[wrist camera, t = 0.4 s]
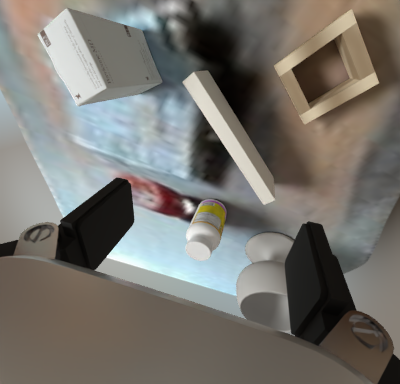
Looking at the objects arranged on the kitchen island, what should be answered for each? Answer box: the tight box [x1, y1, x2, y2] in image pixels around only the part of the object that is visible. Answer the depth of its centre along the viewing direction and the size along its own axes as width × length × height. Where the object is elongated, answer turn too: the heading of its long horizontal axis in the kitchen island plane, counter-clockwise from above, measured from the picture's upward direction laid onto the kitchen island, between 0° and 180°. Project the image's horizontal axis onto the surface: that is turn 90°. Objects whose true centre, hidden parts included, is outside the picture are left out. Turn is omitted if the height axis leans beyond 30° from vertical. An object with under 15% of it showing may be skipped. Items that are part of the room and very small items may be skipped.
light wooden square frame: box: [274, 9, 379, 125], centre depth 28 cm, size 9×9×4 cm
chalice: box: [236, 232, 294, 332], centre depth 43 cm, size 14×14×15 cm
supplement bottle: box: [186, 199, 227, 261], centre depth 42 cm, size 7×7×13 cm
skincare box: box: [38, 8, 163, 106], centre depth 30 cm, size 8×6×15 cm
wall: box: [183, 70, 275, 205], centre depth 34 cm, size 2×22×8 cm, turn 37°
